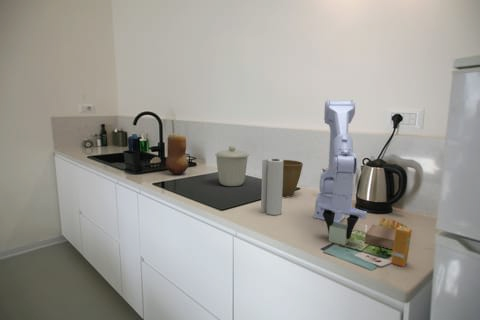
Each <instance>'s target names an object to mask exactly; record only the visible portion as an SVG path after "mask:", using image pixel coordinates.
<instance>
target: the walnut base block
mask: <svg viewBox="0 0 480 320" xmlns="http://www.w3.org/2000/svg"><path fill="white" fill-rule="evenodd" d="M395 232H396V229H392V228H387V227H382V226H379V224H378V225H377V224H372V225H371V227H370V228H369V229H368V230H367V231H366V232H365V234H364V244H367V245H372V246H376V247H379V246H380V248H383V247H384V248H383V249H387V248H388V249H389V250H391V249H392V250H391V251H393V246H394V239H395Z"/></svg>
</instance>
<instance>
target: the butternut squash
mask: <svg viewBox="0 0 480 320" xmlns="http://www.w3.org/2000/svg"><path fill="white" fill-rule="evenodd" d="M186 138H187V137H186V136H185V135H184V134H179V133H170V134H169V135H168V137H167V156H166V159H165V167H166V169H167V170H168V172H169V173H171V174H173V175H174V174H175V176H179V175H181V174H183V173H185V172H187V169H188V167H189V160H188V157H187V155H186V150H187V139H186Z"/></svg>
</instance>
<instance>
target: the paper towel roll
mask: <svg viewBox="0 0 480 320" xmlns="http://www.w3.org/2000/svg"><path fill="white" fill-rule="evenodd" d="M283 160H284V159H279V158H276V159H275V158H272V159H271V158H270V159H262V161H261V163H262V164H261V166H262V167H261V195H260V196H261V197H260V199H261V200H260V201H261V202H260V204H261V205H260V212H261V213H263V212H266V214H267V215H271V216H279V215H282V210H283V196H282V187H283Z"/></svg>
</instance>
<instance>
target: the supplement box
mask: <svg viewBox="0 0 480 320" xmlns="http://www.w3.org/2000/svg"><path fill="white" fill-rule="evenodd" d="M407 227H408V226H407ZM407 227H404V226H399V227H398V228H397V229H396V232H395V239H394V246H393V250H392V254H391V255H392V256H391V260H390V261H391V262H390V263H391V264H394V265H395V266H399V267H402V268H404V267H405V266H406V264H408V263H407V262H408V258H409V249H410V244H411V236H412V228H410V227H408V228H407Z"/></svg>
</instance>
